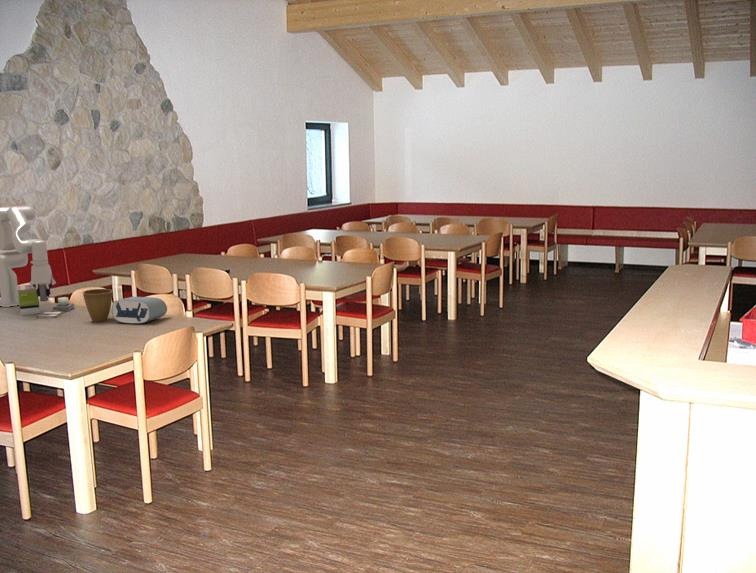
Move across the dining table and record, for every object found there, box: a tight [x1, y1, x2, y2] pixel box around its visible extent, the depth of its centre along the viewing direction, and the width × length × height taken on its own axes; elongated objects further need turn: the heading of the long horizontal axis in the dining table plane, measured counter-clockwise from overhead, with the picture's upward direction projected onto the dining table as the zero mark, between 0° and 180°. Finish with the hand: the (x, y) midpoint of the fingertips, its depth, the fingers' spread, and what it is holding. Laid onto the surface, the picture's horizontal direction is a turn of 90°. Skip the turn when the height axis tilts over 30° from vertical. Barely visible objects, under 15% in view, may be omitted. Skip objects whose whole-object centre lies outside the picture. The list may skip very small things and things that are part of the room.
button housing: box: [52, 302, 75, 312], centre depth 436 cm, size 9×9×3 cm
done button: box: [57, 296, 69, 306], centre depth 435 cm, size 5×5×4 cm
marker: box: [39, 284, 49, 302], centre depth 419 cm, size 4×4×11 cm
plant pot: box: [82, 288, 113, 323], centre depth 406 cm, size 15×15×16 cm
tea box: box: [18, 284, 41, 316], centre depth 431 cm, size 15×10×15 cm, turn 25°
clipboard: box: [35, 309, 65, 319], centre depth 423 cm, size 14×11×1 cm
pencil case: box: [111, 296, 168, 324], centre depth 405 cm, size 22×19×13 cm
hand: (43, 295), depth 419 cm, fingers closed on marker, 4 cm apart
